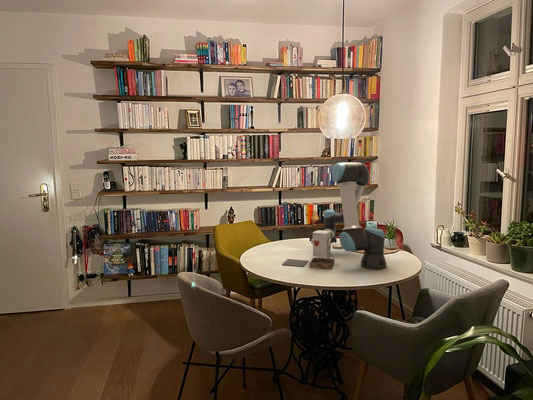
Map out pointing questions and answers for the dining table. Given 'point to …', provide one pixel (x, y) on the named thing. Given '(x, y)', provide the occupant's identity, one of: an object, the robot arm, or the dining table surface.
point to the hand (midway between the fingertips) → (320, 242)
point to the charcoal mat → (295, 262)
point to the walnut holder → (320, 261)
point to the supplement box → (321, 243)
